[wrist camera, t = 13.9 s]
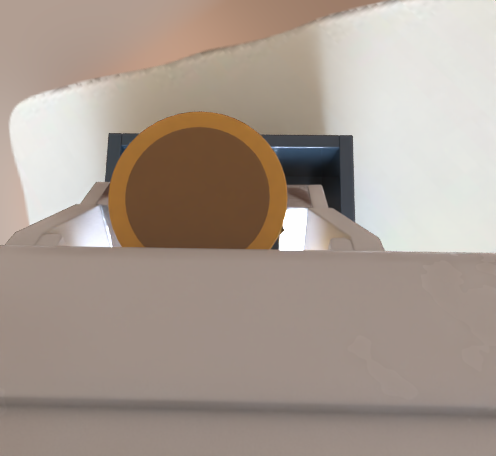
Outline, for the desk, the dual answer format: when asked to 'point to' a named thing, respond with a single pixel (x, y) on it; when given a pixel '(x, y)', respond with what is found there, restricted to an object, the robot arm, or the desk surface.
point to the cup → (198, 186)
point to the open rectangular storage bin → (292, 164)
